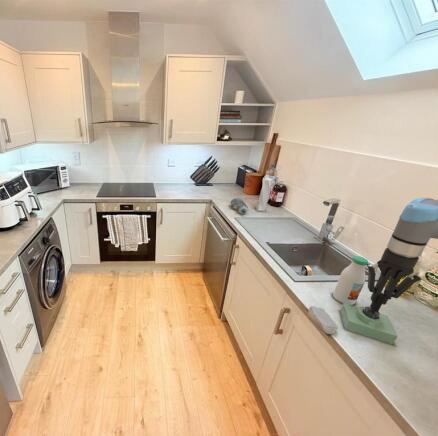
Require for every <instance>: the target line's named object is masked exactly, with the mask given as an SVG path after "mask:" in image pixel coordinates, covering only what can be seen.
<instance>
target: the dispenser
mask: <svg viewBox="0 0 438 436" xmlns="http://www.w3.org/2000/svg"><path fill="white" fill-rule="evenodd" d="M365 307H366V306H355V305H348V304H345V303H342V306H341V308H340V310H339V311H340V316H341V319H342V322H343V326H344V330H346V331H350V332H353V333H356V334H359V335H362V336H365V337H369V338H371V339H374V340H377V341H381V342H384V343H387V344H390V345H394V344H395V342H396V340H397V339H398V337H399V335H398V333H397V331H396V329H395V327H394V326H393V324H392V322H391V320H390V317H389V315H387V314H383V313H380V315H379V317H378V319H372V318H370V317H368V316H366V315H365V314H364V313H363V311H364V309H365Z"/></svg>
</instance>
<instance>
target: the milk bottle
mask: <svg viewBox="0 0 438 436" xmlns="http://www.w3.org/2000/svg"><path fill="white" fill-rule="evenodd" d="M367 264H369V260H368V259H367V258H365V257H364V256H359V255H354V256H353V257H352V258H351V263H350V264H349V265H347V266H346V267H345V268H344V269H342V271H341V273H340V275H339V277H338V279H337V282H336V284H335V287H334V288H333V292H332V296H333V298H334V299H335V300H336V301H338V302H339V303H340V304H341V303H342V304H343V303H345V304H348V305H352V306H354V305H355V304H356V302H357V300H358V298H359V296H360V294H361V292H362V290H363V288H364V285H365V283H366V280H367V276H366V271H365V270H366V267H367Z"/></svg>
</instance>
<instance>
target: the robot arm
mask: <svg viewBox="0 0 438 436" xmlns="http://www.w3.org/2000/svg"><path fill="white" fill-rule="evenodd" d="M431 239H434V240H435V239H436V240H438V199H434V198H431V197H417V198H415V199H413V200H411V201H410V202H409V203H408V204H406V206H405V207H404V208H403V210H402V212H401V214H400V215H399V218H398V221H397V223H396V225H395V228H394V230H393V231H392V234H391V236H390V238H389V240H388V243H387V245H386V247H385V248H384V251H383V254H382V255H381V258H380V259H379V260H378V261H377V262H376V263H368V264H367V266H366V267H367V269H368V271H367V272H368V274H367V289H368V290H369V292H370V293H372V294H371V296H370V301H371V303H370V306H369V307H371V309H372V311H374V312H378V311H379V312H380V310H381V307H382V305H387V303H388V301H389V300H392V298H393V299H400V297H402V295H403V294H404V293H405V292H406V291H408V290H409V289H410V287H411V286H413V285H414V284H415V283H418V282H419V281H422V278H421V276H420V275H419V274H418V273H417V272H415V270H414V268H416V266H417V263H418V262H419V259H420V257H421V256H422V254H423V252H424V250H425V248H426V246H427V245H428V243H429V241H430V240H431ZM378 269H379V271H380V274H379V275H380V276H379V277H378V279H377V281H376V272H377V271H378ZM401 280H402V281H401Z"/></svg>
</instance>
